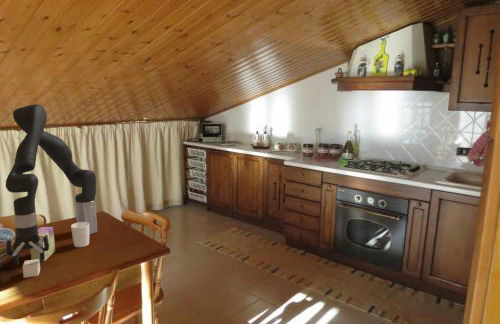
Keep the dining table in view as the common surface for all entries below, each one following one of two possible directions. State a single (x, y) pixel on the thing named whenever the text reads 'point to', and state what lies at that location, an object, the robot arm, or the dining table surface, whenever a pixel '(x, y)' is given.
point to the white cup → (80, 234)
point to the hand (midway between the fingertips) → (29, 262)
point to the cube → (31, 268)
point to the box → (42, 232)
